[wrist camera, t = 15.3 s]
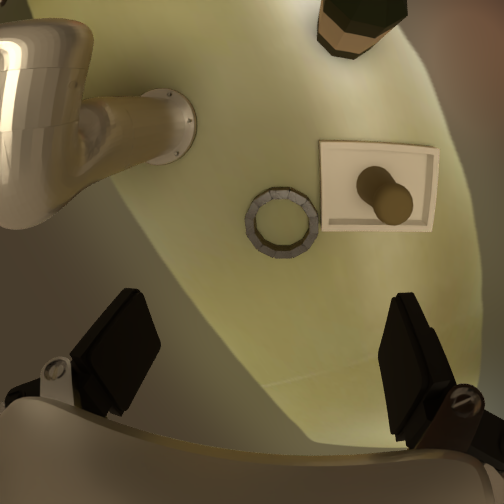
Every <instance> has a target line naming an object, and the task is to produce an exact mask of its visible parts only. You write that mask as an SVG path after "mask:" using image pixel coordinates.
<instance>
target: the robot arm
mask: <svg viewBox="0 0 504 504" xmlns="http://www.w3.org/2000/svg"><path fill="white" fill-rule="evenodd" d="M93 44H94V39H93V34H92V31H91V30H90V28H89V27H88V26H86V25H85V24H83V23H81V22H79V21H75V20H70V19H63V18H42V19H29V20H21V21H15V22H8V23H3V24H0V226H2V227H4V228H7V229H25V228H29V227H32V226H35V225H37V224H40V223H42V222H44V221H45V220H47V219H49V218H50V217H52V216H53V215H54V214H56V213H57V212H59V211H60V210H61V209H62V208H63V207H64V206H65V205H67V204H68V203H69V202H70V201H71V200H72V199H73V198H74V197H75V196H76V195H77V194H79V193H80V192H81V191H82V190H84V189H85V188H87V187H88V186H90V185H92V184H94V183H96V182H98V181H100V180H102V179H104V178H106V177H109V176H111V175H114V174H116V173H118V172H121V171H123V170H126V169H128V168H131V167H133V166H136V165H138V164H141V163H144V162H146V163H149V164H153V165H164V164H168V163H171V162H174V161H176V160H177V159H179V158H181V157H182V156H183V155H184V154H185V153H186V152H187V151H188V149H189V148H190V147H191V145H192V143H193V141H194V138H195V135H196V128H197V120H196V115H195V111H194V109H193V107H192V105H191V103H190V102H189V100H188V99H187V98H186V97H185V96H184V95H182V94H181V93H179V92H177V91H175V90H171V89H166V88H157V89H153V90H150V91H148V92H146V93H144V94H142V95H141V96H140V97H128V96H113V97H92V98H88V99H85V100H82V96H83V91H84V86H85V81H86V77H87V73H88V69H89V64H90V60H91V56H92V51H93ZM171 93H172V96H171ZM191 119H192V122H191V121H190V120H191ZM178 151H179V154H178ZM160 347H161V342H160V339H159V337H158V334H157V331H156V329H155V326H154V324H153V321H152V318H151V315H150V312H149V309H148V306H147V304H146V301H145V298H144V295H143V294H142V293H141V292H140V291H139V290H138V289H132V288H125V289H124V290H122V291H121V292H120V294H119V295H118V296H117V297H116V298H115V299H114V301H113V302H112V303H111V304H110V305H109V306H108V307H107V309H106V310H105V311H104V312H103V313H102V315H101V316H100V317H99V318H98V319H97V321H96V322H95V323H94V324H93V325H92V327H91V328H90V329H89V330H88V331H87V333H86V334H85V335H84V336H83V338H82V339H81V340H80V341H79V343H78V344H77V345H76V346H75V348H74V349H73V350H72V351H71V353H70V356H71V357H72V361H71V362H70V361H69V360H68V359H67V358H65V357H55V358H53V359H51V360H50V361H48V362H47V363H46V364H45V365H44V367H43V368H42V370H41V378H38V379H36V380H33V381H30V382H28V383H25V384H22V385H19V386H16V387H15V388H13V389H11V390H10V391H9V392H8V394H7V396H6V398H5V403H4V402H1V403H0V504H504V420H502V419H501V418H499V417H497V416H495V415H493V414H492V413H489V412H488V411H486V410H484V408H485V400H484V397H483V395H482V393H481V392H480V391H479V390H478V389H477V388H476V387H474V386H473V385H470V384H458V385H457V384H456V381H455V379H454V376H453V373H452V371H451V368H450V365H449V363H448V360H447V358H446V355H445V353H444V351H443V348H442V346H441V343H440V341H439V339H438V337H437V334H436V332H435V330H434V329H433V328H432V327H429V325H428V322H427V320H426V318H425V316H424V314H423V312H422V309H421V307H420V305H419V303H418V301H417V299H416V297H415V295H414V293H412V292H410V293H398V294H397V295H396V297H393V298H392V299H391V303H390V308H389V312H388V317H387V321H386V325H385V329H384V333H383V336H382V340H381V344H380V347H379V351H378V361H379V366H380V371H381V376H382V382H383V387H384V393H385V399H386V405H387V412H388V419H389V426H390V432H391V434H392V435H393V434H395V437H396V442H398V441H404V440H405V441H406V446H407V447H408V449H407V450H402V451H391V452H380V453H369V454H356V455H323V456H308V455H307V456H306V455H279V454H266V453H255V452H246V451H238V450H230V449H224V448H217V447H211V446H205V445H201V444H195V443H191V442H186V441H181V440H176V439H173V438H169V437H165V436H161V435H157V434H153V433H149V432H146V431H143V430H139V429H136V428H133V427H130V426H127V425H123V424H120V423H118V422H115V421H112V420H109V419H108V417H107V413H108V411H110V413H112V414H115V415H118V416H122V414H123V412H124V411H126V410H127V409H128V408H129V406H130V404H131V403H132V400H133V399H134V397H135V395H136V393H137V391H138V389H139V387H140V385H141V384H142V382H143V380H144V378H145V376H146V374H147V372H148V370H149V369H150V367H151V365H152V363H153V361H154V360H155V358H156V356H157V354H158V352H159V350H160Z"/></svg>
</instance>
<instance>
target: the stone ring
mask: <svg viewBox="0 0 504 504" xmlns="http://www.w3.org/2000/svg"><path fill="white" fill-rule="evenodd" d="M272 199H289V200H291V201H293V202H295V203H297V204H298V205H300V206H302V208H303V209H304V211H305V212H306V214H307V216H308V217H309V229H308V231H307V232H306V234H305V236H304V237H303V239H301V240H300V241H298V242H296V243H294V244H292V245H283V246H277V245H275V244H273V243H271V242H269V241H267V240H265V239H264V238H263V237H262V235H261V234H260V233H259V231H258V230H257V228H256V217H255V215H256V213H257V211H258V209H259V207H261V206H262V205H264V204H266V203H267V202H269V201H270V200H272ZM245 226H246V235H247V237H248V238H249V240H250V241H251V242H252V244H253V245H254V246H255V248H256V249H258V251H260V252H262V253H264V254H266V255H268V256H270V257H272V258H273V257H275V258H292V257H293V258H294V257H296V256H298V255H300V254H302V253H304V252H305V251H307V250H308V249H309V248H310V247H311V245H312V244H313V242H314V240H315V239H316V237H317V236H318V213H317V210H316V209H315V207H314V205H313V204H312V202H311V201H310V199H309V197H307V195H305V194H303V193H301V192H299V191H297V190H295V189H293V188H290V187H272V188H271V189H270V188H269V189H268V190H266V191H264V192H263V193H261V194H259V195H258V196H256V197H255V198H254V200H253V202H252V204H251V206H250V208H249V210H248V212H247V214H246V216H245Z"/></svg>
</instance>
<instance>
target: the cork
mask: <svg viewBox="0 0 504 504" xmlns="http://www.w3.org/2000/svg"><path fill="white" fill-rule="evenodd" d="M356 189H357V193H358V195H359V196H360V198H361V199H362V200H363V201H365V202H366V203H367V204H369V205H370V206H371V207H373V210H374V213H375V214H376V216H377V218H378V219H379V220H380V221H381V222H383V223H385V224H387V225H391V226H396V225H400V224H402V223H404V222H405V221H406V220H407V219H408V218H409V217H410V215H411V213H412V211H413V199H412V196H411V194H410V192H409V191H408V190H407V189H406V188H405V187H404V186H402V185H400V184H398V183H396V182H395V180H394V179H393V177H392V176H391V174H390V173H389V172H388V171H387V170H386V169H384V168H382V167H380V166H371V167H368V168H366V169H364V170H363V171H362V172H361V173H360V174H359V176H358V179H357V182H356Z"/></svg>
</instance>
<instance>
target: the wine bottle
mask: <svg viewBox="0 0 504 504" xmlns="http://www.w3.org/2000/svg"><path fill="white" fill-rule="evenodd" d="M406 16H408V11H407V0H321V6H320V12H319V18H318V27H317V41H318V42H319V43H320V44H321V45H322V46H323V47H324V48H325V49H326V50H327V51H328V52H329V53H330V54H331V55H332V56H336V57H342V58H348V59H353V60H354V59H356V58H357V57H359V56H360V55H362V54H363V53H365V52H366V51H368V50H369V49H371V48H372V47H373V46H374V45H375V44H376V43H377V42H378V41H379V40H380V39H381V38H383V37H384V36H385V35H386V34H387V33H388V32H389V31H390V30H392V29H393V28H394V27H395V26H396V25H397V24H398V23H399V22H401V21H402V20H403V19H404V18H405V17H406Z"/></svg>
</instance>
